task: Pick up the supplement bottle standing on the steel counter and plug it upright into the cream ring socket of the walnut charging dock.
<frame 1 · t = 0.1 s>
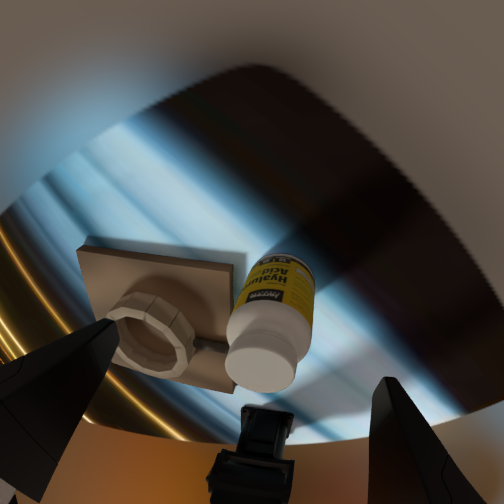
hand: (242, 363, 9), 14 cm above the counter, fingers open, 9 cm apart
dock: (159, 322, 29), on the counter
supplement bottle: (281, 279, 24), on the counter
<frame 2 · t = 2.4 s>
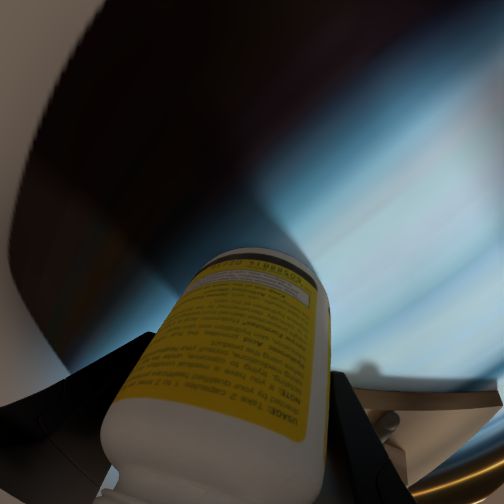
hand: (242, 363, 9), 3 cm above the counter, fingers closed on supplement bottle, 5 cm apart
dock: (340, 456, 16), on the counter
supplement bottle: (260, 303, 12), on the counter, touching gripper
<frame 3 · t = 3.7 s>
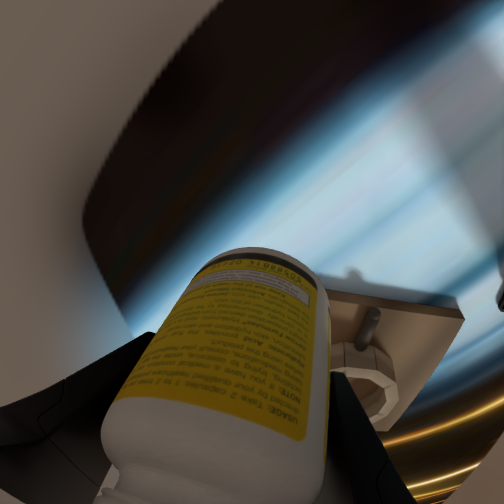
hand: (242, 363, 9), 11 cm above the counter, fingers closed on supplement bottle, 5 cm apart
dock: (341, 370, 23), on the counter
supplement bottle: (260, 303, 12), point 8 cm above the counter, touching gripper
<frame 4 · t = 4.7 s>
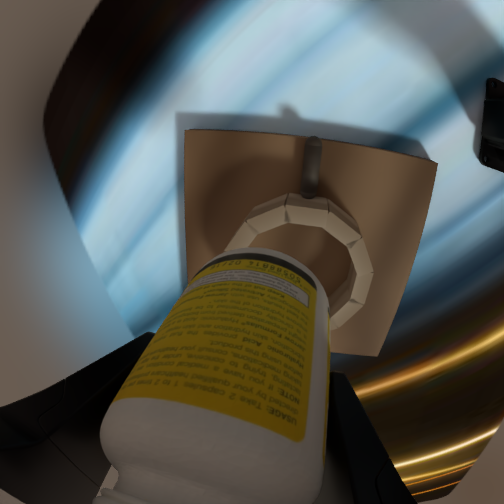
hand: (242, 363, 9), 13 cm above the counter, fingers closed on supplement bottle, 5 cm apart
dock: (299, 252, 21), on the counter
supplement bottle: (259, 303, 12), point 10 cm above the counter, touching gripper
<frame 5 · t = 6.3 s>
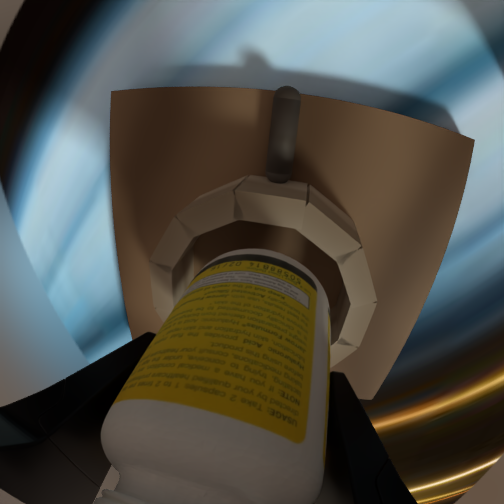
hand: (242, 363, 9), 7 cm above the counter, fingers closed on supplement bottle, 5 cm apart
dock: (269, 263, 15), on the counter
supplement bottle: (260, 304, 12), point 3 cm above the counter, touching gripper
when the fingers open (5 cm above the counter, at t = 7.5 s): supplement bottle stays where it is, resting on dock.
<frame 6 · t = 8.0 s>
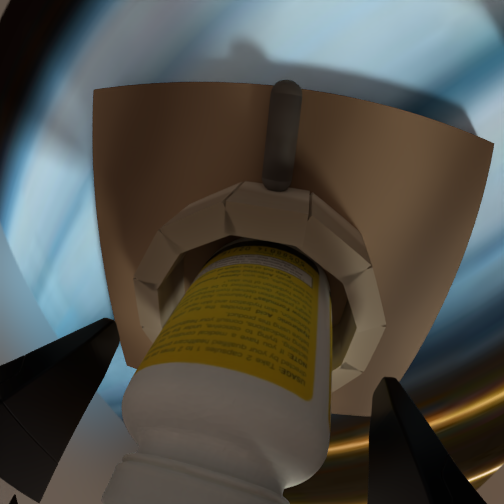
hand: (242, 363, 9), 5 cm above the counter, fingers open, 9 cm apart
dock: (267, 277, 13), on the counter
supplement bottle: (265, 289, 13), point 1 cm above the counter, touching dock
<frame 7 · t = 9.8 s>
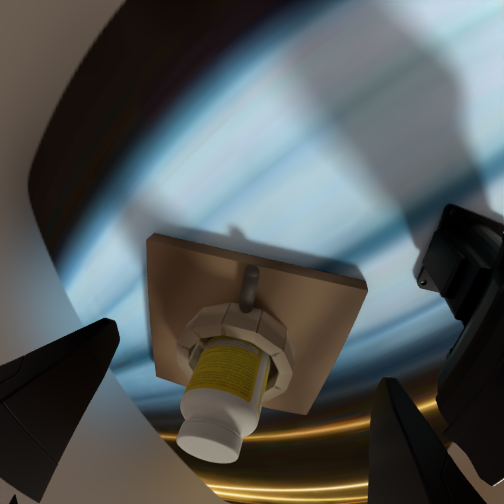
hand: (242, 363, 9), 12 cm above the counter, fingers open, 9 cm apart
dock: (242, 338, 25), on the counter
supplement bottle: (240, 346, 24), point 1 cm above the counter, touching dock
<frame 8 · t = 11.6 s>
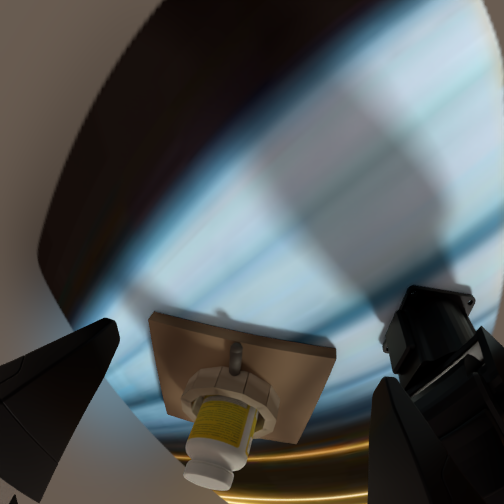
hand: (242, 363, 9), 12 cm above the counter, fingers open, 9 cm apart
dock: (236, 387, 28), on the counter
supplement bottle: (234, 395, 27), point 1 cm above the counter, touching dock
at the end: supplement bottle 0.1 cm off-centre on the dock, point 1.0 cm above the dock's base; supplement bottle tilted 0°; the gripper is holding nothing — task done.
